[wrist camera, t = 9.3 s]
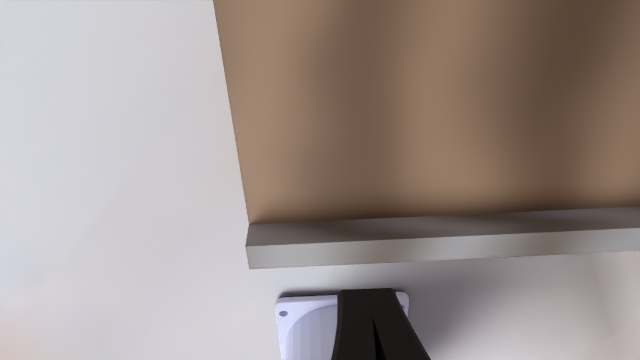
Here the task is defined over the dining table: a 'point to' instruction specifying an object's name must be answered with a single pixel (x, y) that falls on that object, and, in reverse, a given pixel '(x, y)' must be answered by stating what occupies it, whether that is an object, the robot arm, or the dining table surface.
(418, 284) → the dining table surface
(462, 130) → the slide box
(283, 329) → the robot arm
